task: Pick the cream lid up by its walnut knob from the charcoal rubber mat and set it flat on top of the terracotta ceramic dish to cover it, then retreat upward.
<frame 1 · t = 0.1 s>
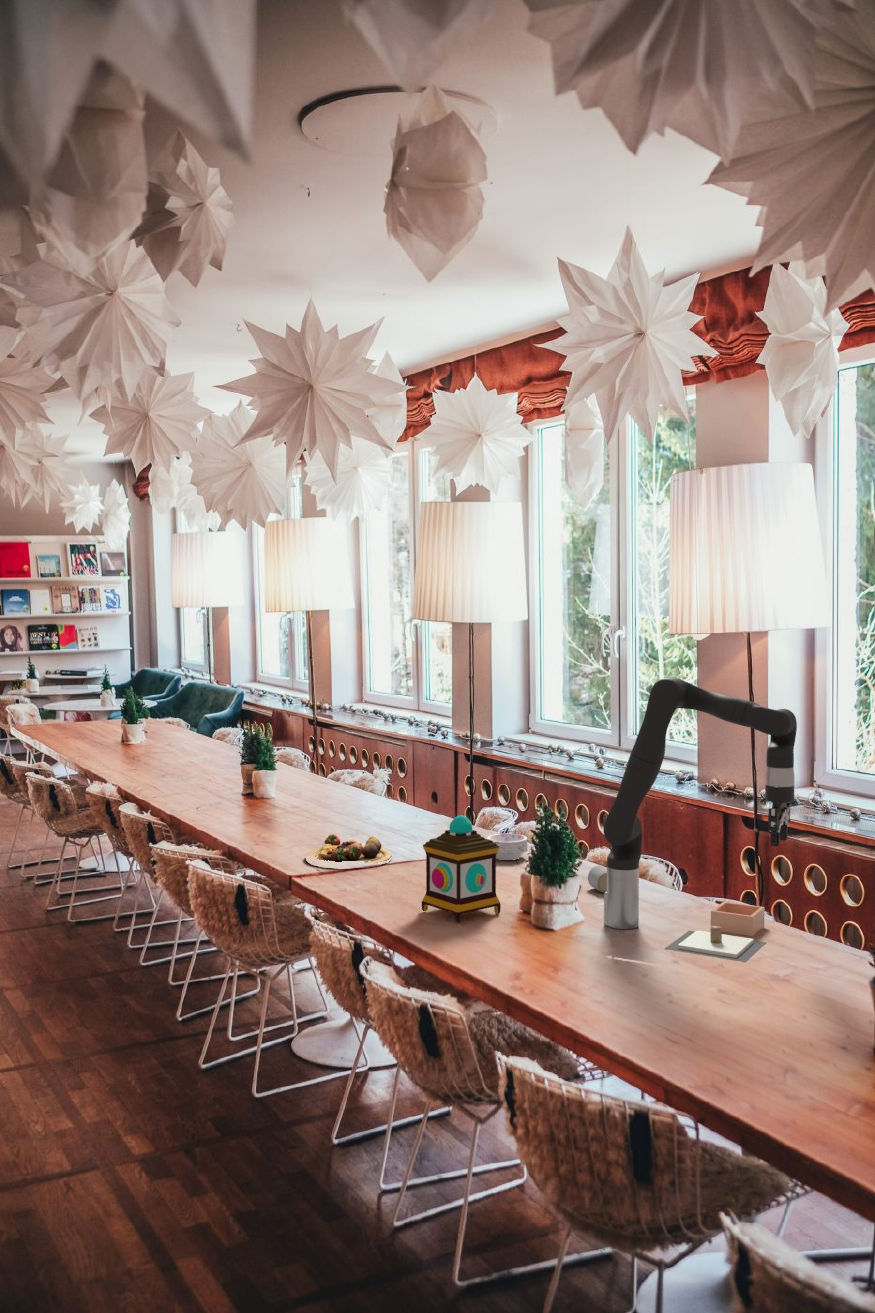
hand: (778, 843, 303), 29 cm above the table, fingers open, 8 cm apart
cream lid: (716, 945, 306), point 1 cm above the table, touching rubber mat
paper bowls: (506, 858, 415), on the table
terracotta dish: (737, 929, 323), on the table
rubber mat: (716, 947, 306), on the table
ceramic mug: (606, 891, 368), on the table
decorative lantern: (460, 913, 341), on the table
wooden plate with food: (348, 861, 414), on the table
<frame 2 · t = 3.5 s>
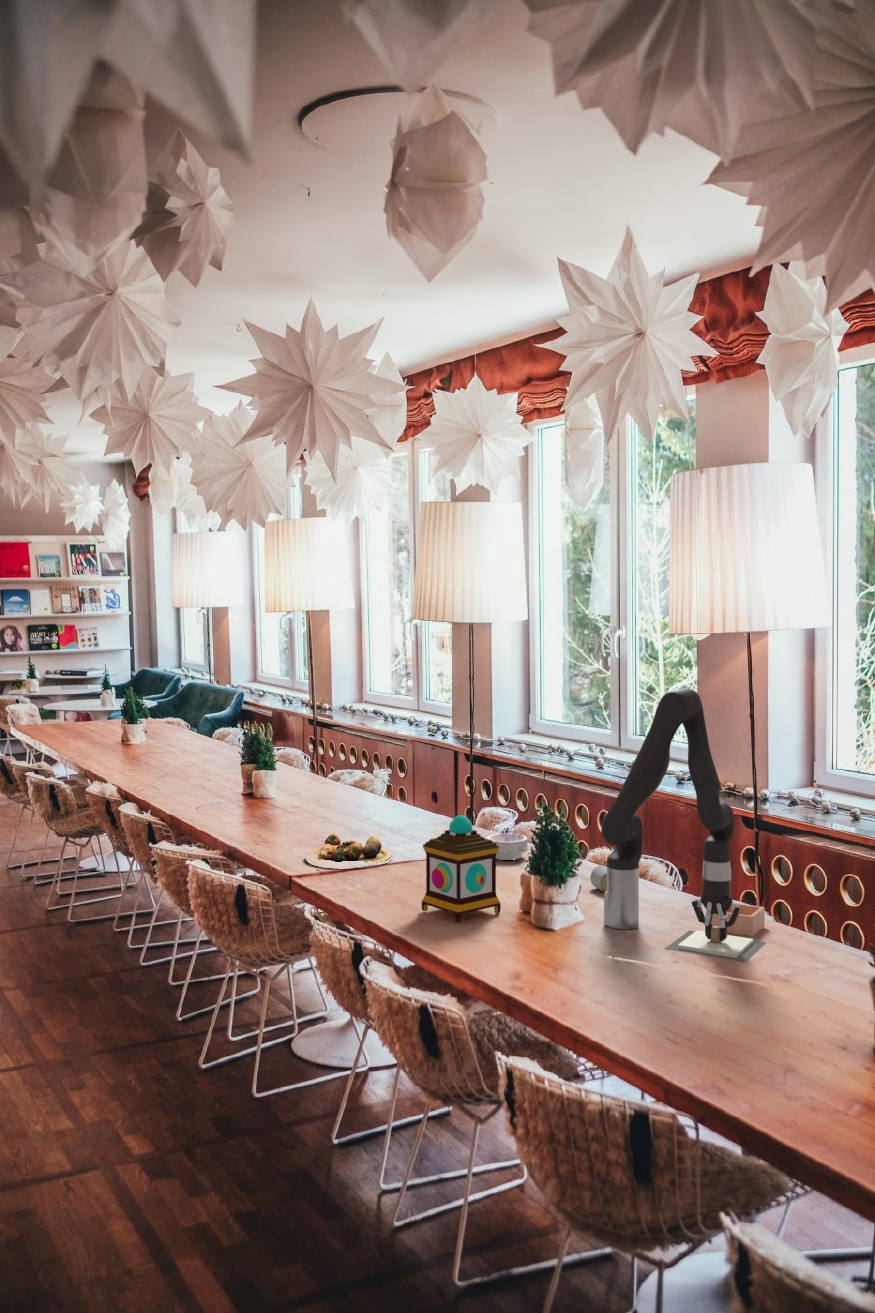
hand: (716, 939, 306), 2 cm above the table, fingers closed on cream lid, 3 cm apart
cream lid: (716, 945, 306), point 1 cm above the table, touching gripper, rubber mat
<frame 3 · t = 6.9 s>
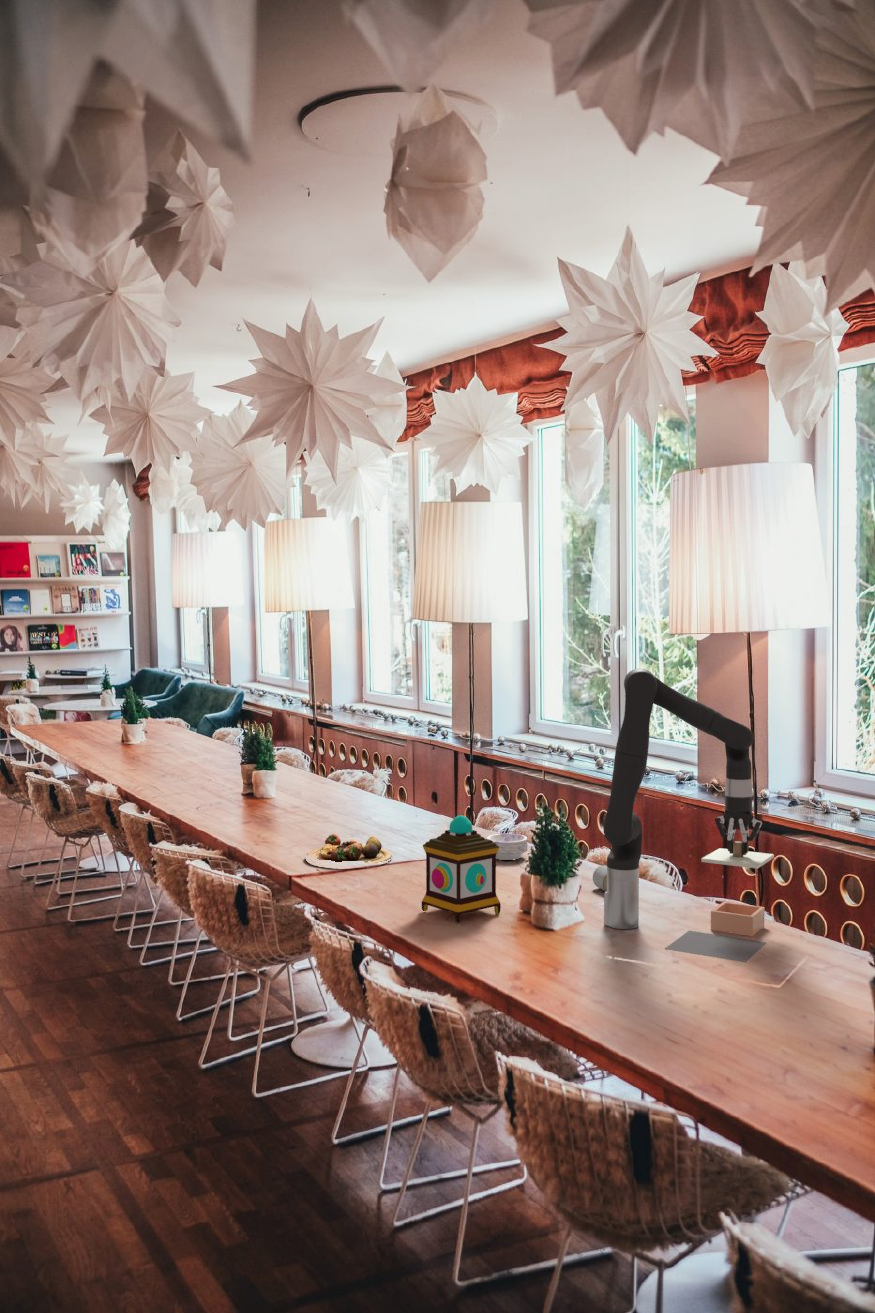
hand: (738, 853, 321), 22 cm above the table, fingers closed on cream lid, 3 cm apart
cream lid: (738, 859, 321), point 20 cm above the table, touching gripper
when the fingers open (9 cm above the table, at t = 10.2 s): cream lid drops 1 cm, resting on terracotta dish.
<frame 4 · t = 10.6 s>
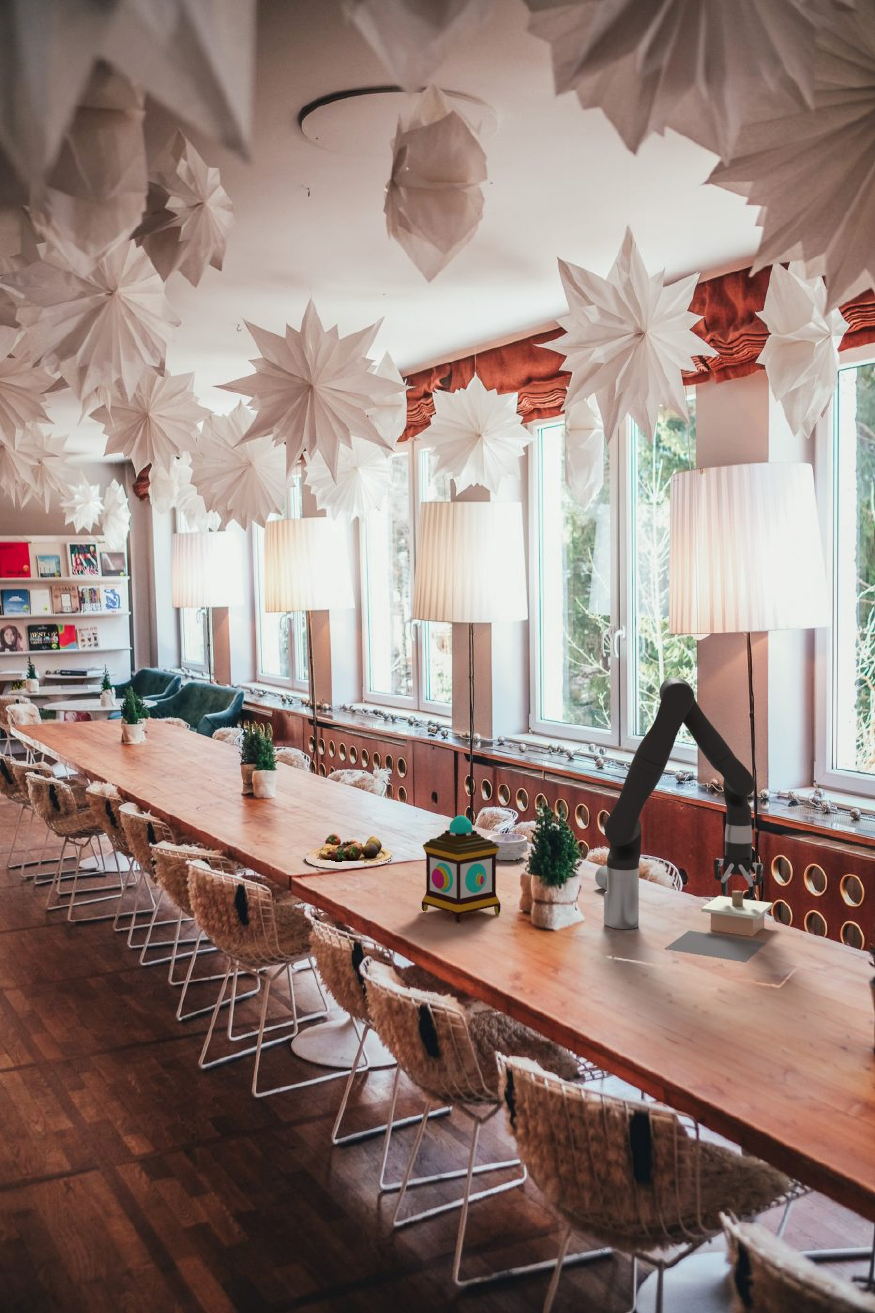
hand: (738, 896, 323), 10 cm above the table, fingers open, 6 cm apart
cream lid: (737, 909, 323), point 6 cm above the table, touching terracotta dish
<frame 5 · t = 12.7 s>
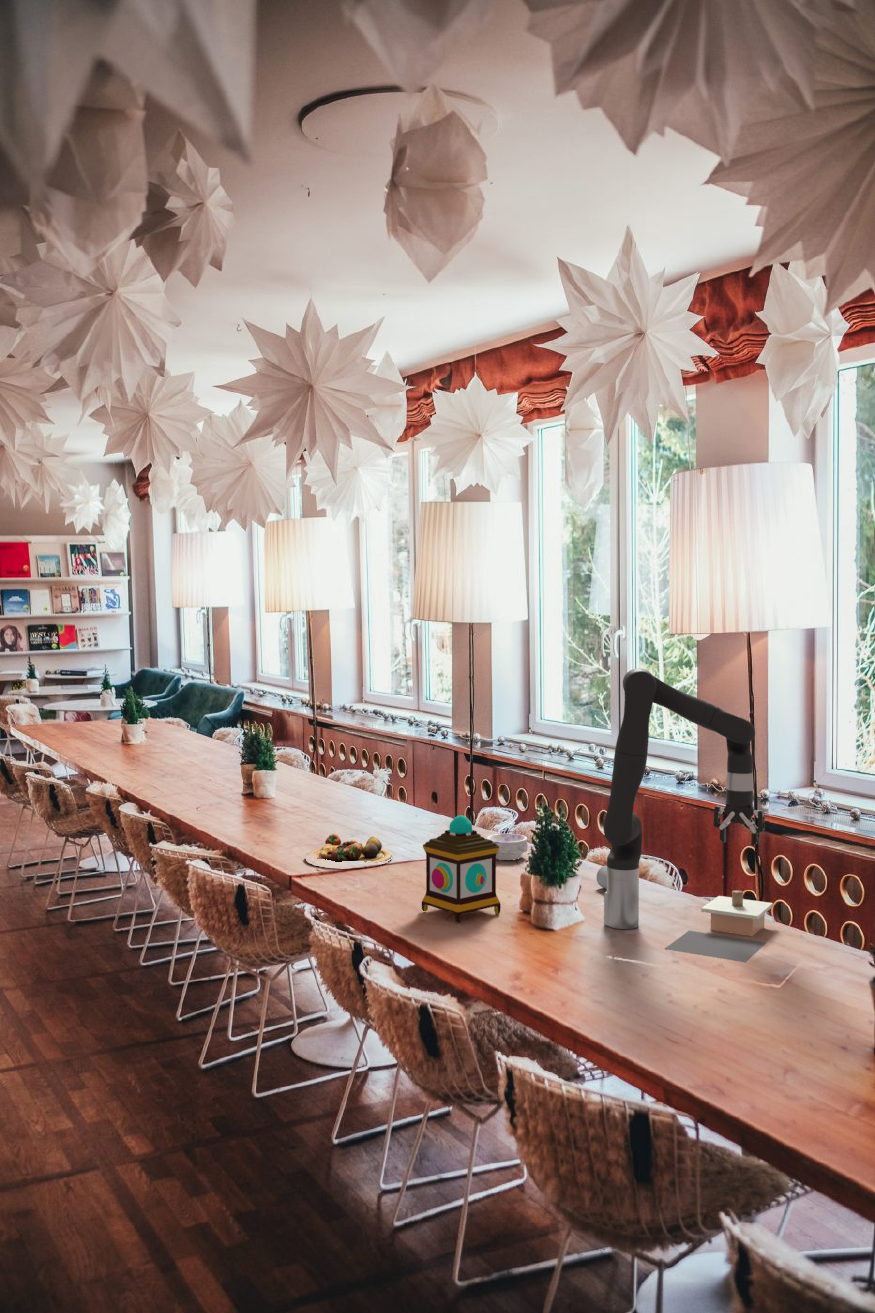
hand: (738, 844, 322), 25 cm above the table, fingers open, 8 cm apart
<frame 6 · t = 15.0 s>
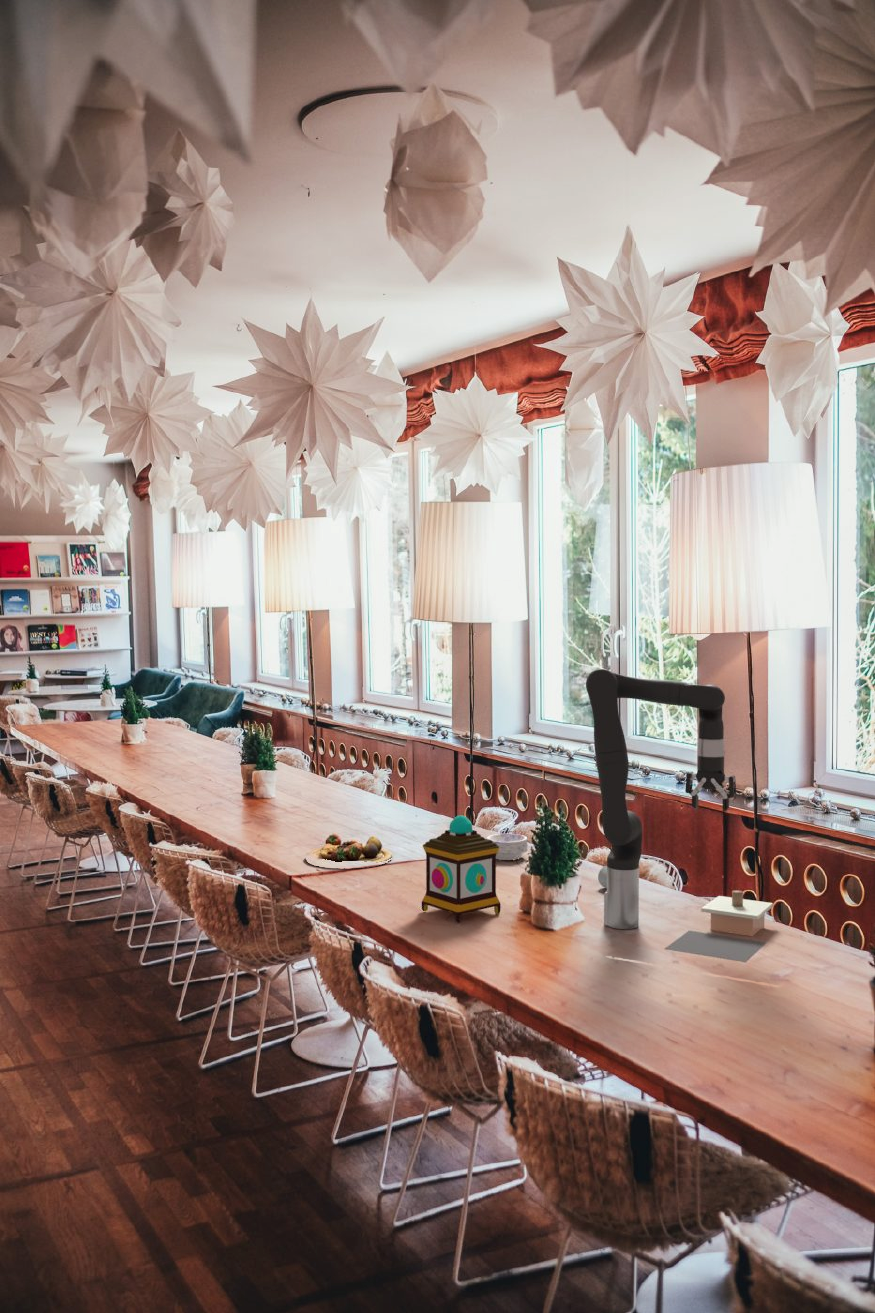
hand: (710, 809, 325), 34 cm above the table, fingers open, 8 cm apart
at the end: cream lid 0.1 cm off-centre on the terracotta dish, point 6.0 cm above the terracotta dish's base; cream lid tilted 0°; cream lid touching terracotta dish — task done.
